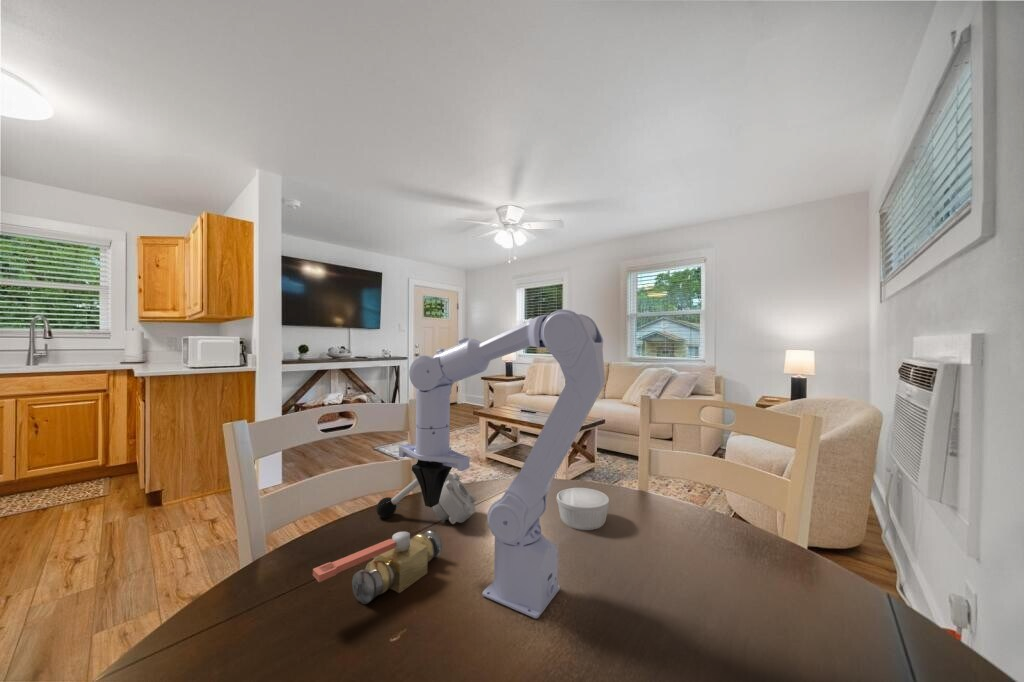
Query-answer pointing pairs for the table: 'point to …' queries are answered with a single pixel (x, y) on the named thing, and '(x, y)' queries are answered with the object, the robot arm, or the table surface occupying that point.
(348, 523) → the table surface
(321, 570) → the lever
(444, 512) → the mechanical valve
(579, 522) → the ramekin
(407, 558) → the valve pipe
